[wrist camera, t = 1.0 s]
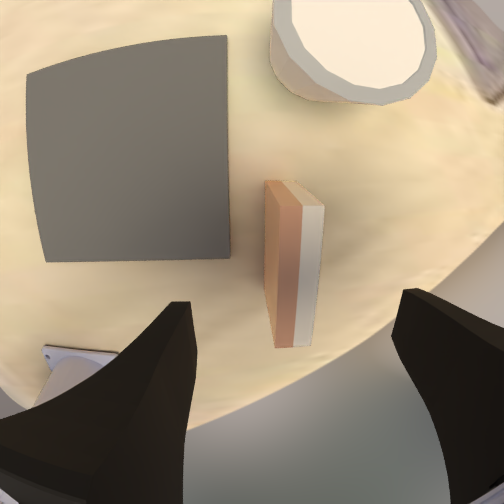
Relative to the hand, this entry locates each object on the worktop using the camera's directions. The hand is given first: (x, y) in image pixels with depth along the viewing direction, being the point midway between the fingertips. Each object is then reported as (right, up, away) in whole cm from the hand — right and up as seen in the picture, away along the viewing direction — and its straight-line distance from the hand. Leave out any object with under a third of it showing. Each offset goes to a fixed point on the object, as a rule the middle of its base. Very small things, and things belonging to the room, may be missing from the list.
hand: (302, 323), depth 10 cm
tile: (0, +3, +9) cm, 10 cm away
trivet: (-10, +8, +6) cm, 14 cm away
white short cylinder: (+2, +13, +5) cm, 15 cm away
